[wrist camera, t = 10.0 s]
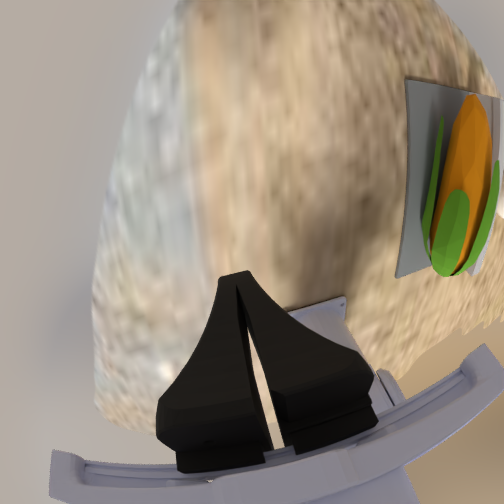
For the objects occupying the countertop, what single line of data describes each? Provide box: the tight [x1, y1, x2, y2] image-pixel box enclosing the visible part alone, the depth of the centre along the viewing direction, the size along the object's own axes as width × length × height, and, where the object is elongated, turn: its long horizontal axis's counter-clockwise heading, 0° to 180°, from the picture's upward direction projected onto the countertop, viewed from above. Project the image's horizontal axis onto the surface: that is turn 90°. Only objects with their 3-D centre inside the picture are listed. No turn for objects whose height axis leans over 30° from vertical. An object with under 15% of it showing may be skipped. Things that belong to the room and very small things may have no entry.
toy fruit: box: [421, 94, 500, 277], centre depth 20 cm, size 7×8×20 cm
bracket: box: [395, 80, 504, 279], centre depth 21 cm, size 22×12×5 cm, turn 9°
